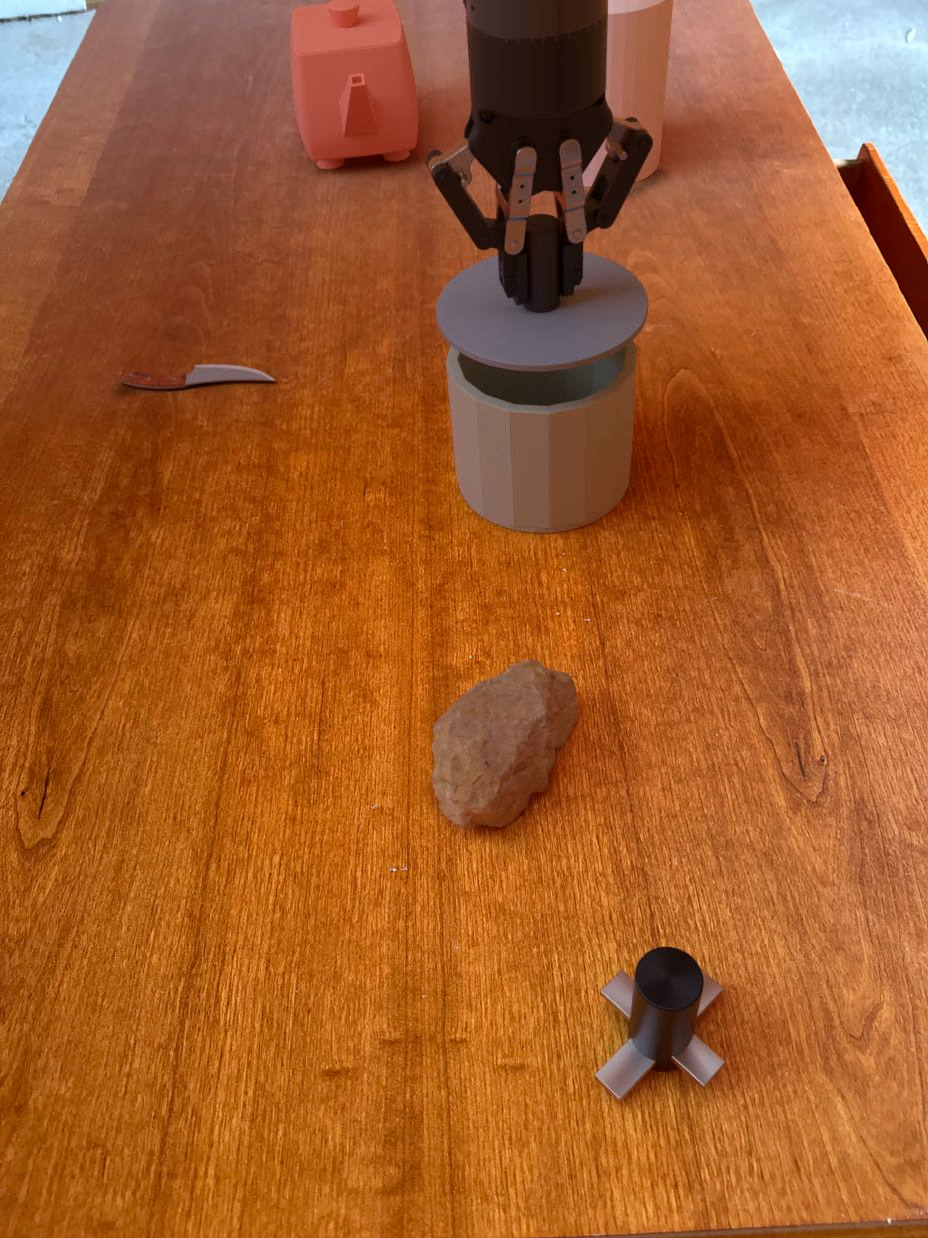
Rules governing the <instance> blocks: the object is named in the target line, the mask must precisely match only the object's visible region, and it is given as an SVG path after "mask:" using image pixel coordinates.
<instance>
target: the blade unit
mask: <svg viewBox="0 0 928 1238" xmlns="http://www.w3.org/2000/svg"><path fill="white" fill-rule="evenodd" d="M724 991H725V988H724V987H723V986H722V985H721V984H720V983H719V982H717V981H716V980H715V979H714V978H712V977H711V976H710V975H709V974H707V972H705V971H704V970H703V969H702V968H701V966H700V965H699V963H698V961H697V960H695V958H694V957H693V956H692V955H690V954H689V953H688V952H687V951H684V950H683V949H681V948H677V947H673V946H659V947H655V948H653V949H651V950H649V951H647V952H645V954H643V955H642V956H641V957H640V959H639V960H638V962H637V964H636V967H635V969H634V977H633V978H632V977H631V976H630V975H629V974H628V973H627V972H626V971H624V970H623V969H620V971H618V972H617V973H616V974H615V975H614V977H612V978H611V979H610V980H609V981H608V982H607V983H606V984H605V985H604V987H602V988H601V989H600V990H599V995H600V997H601V998H603V999H604V1000H605V1002H607V1003H608V1004H609V1005H610V1006H611V1007H612V1008H614V1009H615V1010H616V1011H617V1012H618V1013H619V1014H620V1015H621V1016H622V1017H623V1018H625V1020H626V1021H627V1022H628V1033H627V1040H626V1041H625V1042H624V1043H623V1045H622V1046H620V1048H619V1049H617V1051H616V1052H615V1053H613V1055H612V1056H611V1057H610V1058H609V1059H607V1061H606V1062H605V1063H603V1065H602V1066H601V1067H599V1069H598V1070H597V1071H596V1073H594V1076H593V1078H594V1080H595V1081H596V1082H597V1083H598V1084H599V1085H600V1086H601V1087H602V1088H603V1089H604V1090H605V1091H606V1092H607V1093H608V1094H609V1095H610V1096H612V1098H613V1099H614V1100H615V1101H616V1102H617V1103H621V1102H622V1101H623V1100H625V1098H626V1097H627V1096H628V1095H629V1094H630V1093H631V1092H632V1091H633V1089H635V1087H636V1086H637V1085H638V1084H640V1082H641V1081H642V1080H643V1079H644V1078H645V1077H646V1076H647V1075H648V1074H649V1072H651V1070H652V1071H655V1072H669V1071H672V1070H675V1069H677V1068H679V1069H680V1070H681V1071H682V1073H684V1074H685V1075H686V1076H687V1077H688V1078H689V1079H690V1080H692V1081H693V1082H694V1083H695V1084H696V1085H697V1086H698V1087H699V1088H700V1089H701V1090H705V1089H706V1088H707V1087H708V1085H710V1084H711V1082H713V1080H714V1079H715V1078H716V1077H717V1076H718V1074H719V1073H720V1072H721V1071H722V1070H723V1069H724V1068H725V1067H726V1061H725V1060H724V1058H722V1057H721V1056H720V1055H719V1054H718V1053H716V1052H715V1051H714V1050H713V1049H712V1048H711V1047H710V1046H708V1044H707V1043H705V1042H704V1041H703V1040H702V1039H701V1038H699V1036H698V1035H696V1034H695V1033H694V1032H695V1028H696V1024H697V1022H698V1020H699V1019H700V1018H701V1017H702V1016H703V1015H704V1014H705V1013H706V1012H707V1010H708V1009H710V1008H711V1007H712V1005H713V1004H714V1003H715V1002H716V1001H717V1000H718V999H719V998H720V997H721V996H722V995H723V993H724Z"/></svg>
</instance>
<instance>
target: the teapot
mask: <svg viewBox="0 0 928 1238" xmlns="http://www.w3.org/2000/svg"><path fill="white" fill-rule="evenodd" d="M400 15H401V14H400V13H399V9H398V7H397V4H396V3H395V1H394V0H330V1H329V2H327V3H326V2H325V3H318V4H310V5H309V4H308V5H302V6H296V7H295V8H294V9H293V11H292V14H291V19H290V20H291V22H290V70H291V73H290V74H291V85H292V86H291V87H292V94H293V95H292V96H293V104H294V112H295V118H296V123H297V127H298V131H299V134H300V138H301V141H302V144H303V146H304V149H305V152H306V154H307V156H308V158H309V159H310V160H311V161H314V162H316V164H317V167H319V168H320V169H323V170H332V169H333V170H334V169H338V168H339V167H341V166H343V165H344V163H345V159H349V158H350V159H351V158H358V157H368V156H375V155H382V158H383V159H384V160H386V161H387V162H399V161H401V162H402V161H404V160H406V159H408V158H409V157H410V155H411V153H410V151H411V150H413V149H415V148H416V145H417V141H418V135H419V134H418V132H419V103H418V102H419V101H418V94H417V86H416V80H415V74H414V73H415V72H414V69H413V63H412V58H411V54H410V50H409V45H408V42H407V38H406V33H405V29H404V26H403V23H402V19H401V16H400Z"/></svg>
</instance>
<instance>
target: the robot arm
mask: <svg viewBox="0 0 928 1238" xmlns="http://www.w3.org/2000/svg"><path fill="white" fill-rule="evenodd" d="M462 4H463V6H464V9H465V23H466V24H465V25H466V39H467V41H466V42H467V57H468V69H469V70H468V73H469V89H470V91H469V92H470V114H469V117H468V120H467V122H466V124H465V127H464V131H463V138H462V139H461V140H460V141H458V142H457V143H456V144H454V145H452V146H451V147H450V148H449V149H447V150H446V151H444V152H443V151H442V150H440V149H432V150H431V151H429V152H428V153H427V154H426V156H425V165H426V168H427V170H428V172H429V174H430V177H431V178H432V180H433V183H434V185H435V187H436V188H437V189H438V191H439V193H440V194H441V196H442V198H443V199H444V200H445V201H446V203H447V205H448V206H449V208H450V209H451V211H452V212H453V214H454V216H455V217H456V219H457V220H458V221H459V223H460V224H461V226H462V227H463V229H464V230H465V232H466V233H467V235H468V237H469V238H470V239H471V241H472V242H473V244H474V245H475V247H476V249H478V250H480V251H487V250H490V249H494V250H495V249H496V250H497V255H498V266H499V281H500V283H501V285H502V287H503V289H504V292H505V293H506V295H507V297H508V298H513V300H514V302H515V304H516V306H517V305H522V304H527V303H528V285H527V253H526V251H525V249H524V239H525V229H526V220H527V219H528V218H529V216H530V213H531V203H532V197H534V196H536V195H538V194H540V193H542V192H552V194H553V200H554V208H555V215H556V216H555V217H556V218H557V219H558V220H559V222H560V294H561V296H562V297H566V296H571V295H574V286H578V285H580V284H581V281H582V279H583V252H584V242H585V239H586V237H587V235H589V233H590V232H593V231H595V230H597V229H598V228H599V229H601V230H606V229H609V228H611V227H612V226H613V225H614V224H615V222H616V220H617V218H618V216H619V214H620V211H621V210H622V208H623V206H624V204H625V202H626V200H627V198H628V196H629V194H630V191H631V190H632V188H633V186H634V184H635V183H636V182H635V180H636V178H637V176H638V174H639V172H640V170H641V168H642V166H643V164H644V162H645V160H646V158H647V156H648V154H649V152H650V150H651V148H652V146H653V139H652V137H651V136H650V135H649V133H648V131H647V130H646V129H645V127H644V126H643V125H642V124H641V123H640V122H639V121H638V119H636V118H635V117H629V118H627V119H625V120H623V119H621V118H618V117H615V116H613V114H612V111H611V109H610V108H609V106H608V104H607V101H606V97H605V91H606V68H607V29H608V0H462ZM606 138H607V140H606V143H605V149H606V151H607V155H606V157H605V159H604V161H603V163H602V165H601V167H600V169H599V171H598V174H597V176H596V178H595V180H594V182H593V184H592V186H591V187H589V190H588V193H587V194H585V187H584V185H583V176H582V175H583V173H584V171H585V170H586V168H587V167H588V165H589V164H590V162H591V161H592V159H593V158H594V156H595V155H596V153H597V152H598V150H599V149H600V147H601V145H602V144H603V142H604V141H605V139H606ZM474 160H476V161H477V162H478V163H479V164H480V165H481V166H482V167H483V169H484V170H485V171H486V172H487V173H488V174H489V175H490V177H491V178H492V179H493V180H494V181H495V198H496V206H495V207H496V208H495V218H492V217H486V216H484V214H483V213H482V211H481V209H480V208H479V207H478V205H477V203H476V202H475V200H474V198H473V196H472V195H471V194H470V192H469V191H468V189H467V188H468V187H469V185H470V184H471V183H472V181H473V174H472V171H471V164H472V162H473V161H474ZM634 182H635V183H634Z"/></svg>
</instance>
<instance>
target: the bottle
mask: <svg viewBox="0 0 928 1238" xmlns="http://www.w3.org/2000/svg"><path fill="white" fill-rule="evenodd" d="M673 8H674V0H608V29H607V68H606V91H605V97H606V101H607V104H608V106H609V108H610V109H611V111H612V114H613V116H615V117H618V118H621V119H623V120H625V119H627V118H629V117H635V118H636V119H638V121H639V122H640V123H641V124H642V125H643V126H644V127H645V129H646V130H647V131H648V133H649V135H650V136H651V137H652V139H653V146H652V148H651V150H650V152H649V154H648V156H647V158H646V160H645V162H644V164H643V166H642V168H641V170H640V172H639V174H638V176H637V178H636V180H635V182H634V184H635V183H638V182H641V181H642V180H644V179H646V178H648V177H649V176H651V175H652V174H653V173H655V171H656V170H657V169H658V167H659V165H660V161H661V151H662V150H661V148H662V138H663V127H664V114H665V104H666V103H665V102H666V91H667V90H666V89H667V79H668V68H669V55H670V43H671V34H672V33H671V32H672V23H673V22H672V21H673V19H672V18H673V10H674V9H673ZM606 140H607V138H606V139H605V141H604V142H603V144H602V145H601V147H600V149H599V150H598V152H597V153H596V155H595V156H594V158H593V159H592V161H591V162H590V164H589V165H588V167H587V168H586V170H585V171H584V173H583V175H582V176H583V185H584V188H591V186H592V184H593V182H594V180H595V178H596V176H597V174H598V171H599V169H600V167H601V165H602V163H603V161H604V159H605V157H606V155H607V151H606V149H605V143H606Z"/></svg>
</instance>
